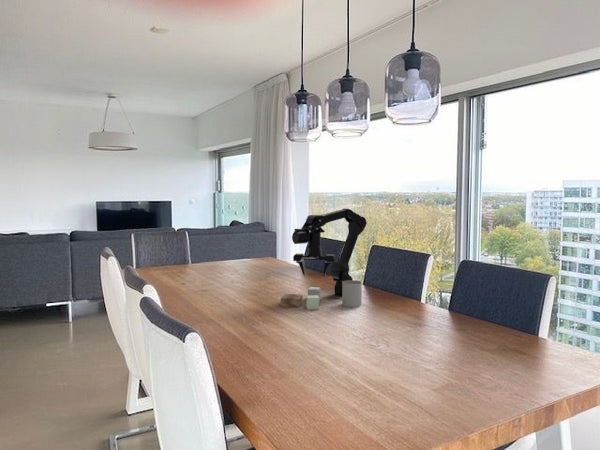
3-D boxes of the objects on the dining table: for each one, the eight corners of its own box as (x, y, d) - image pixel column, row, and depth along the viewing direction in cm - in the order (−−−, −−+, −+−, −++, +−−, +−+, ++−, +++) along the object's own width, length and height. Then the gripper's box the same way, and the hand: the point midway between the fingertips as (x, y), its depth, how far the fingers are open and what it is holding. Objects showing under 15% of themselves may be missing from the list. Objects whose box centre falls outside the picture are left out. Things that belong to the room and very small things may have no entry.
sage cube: (317, 306, 203) (318, 295, 203) (319, 309, 198) (319, 297, 198) (306, 306, 203) (306, 295, 203) (307, 309, 198) (307, 298, 198)
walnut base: (302, 303, 210) (302, 294, 209) (298, 307, 202) (298, 298, 201) (285, 302, 211) (285, 293, 211) (280, 306, 204) (280, 297, 203)
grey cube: (320, 298, 219) (320, 287, 218) (318, 300, 214) (318, 289, 213) (309, 297, 220) (309, 287, 219) (307, 300, 215) (307, 289, 214)
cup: (339, 305, 205) (339, 282, 204) (346, 301, 212) (346, 279, 211) (357, 307, 201) (357, 284, 200) (364, 303, 208) (364, 281, 207)
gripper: (336, 241, 221) (336, 273, 222) (297, 240, 224) (297, 272, 226) (333, 243, 210) (333, 278, 211) (292, 243, 213) (293, 276, 215)
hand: (314, 276), depth 216 cm, fingers open, 9 cm apart
